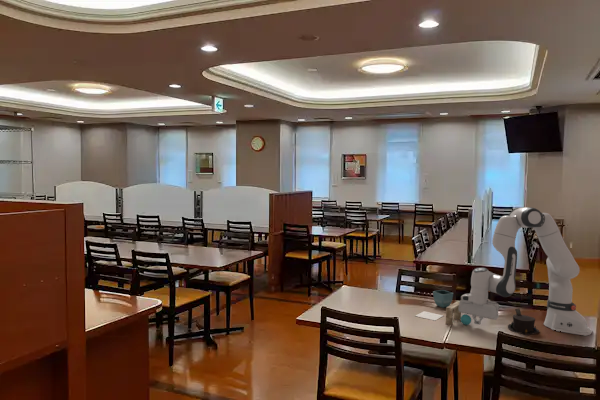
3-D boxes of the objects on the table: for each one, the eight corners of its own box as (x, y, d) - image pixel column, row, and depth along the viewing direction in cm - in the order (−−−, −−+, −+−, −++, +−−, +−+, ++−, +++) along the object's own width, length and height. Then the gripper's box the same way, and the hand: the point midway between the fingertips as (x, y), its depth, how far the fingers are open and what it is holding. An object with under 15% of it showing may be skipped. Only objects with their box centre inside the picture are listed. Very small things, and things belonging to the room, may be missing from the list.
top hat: (543, 331, 244) (544, 311, 243) (532, 337, 233) (534, 317, 233) (514, 323, 254) (515, 305, 254) (503, 330, 244) (504, 310, 243)
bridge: (460, 319, 260) (461, 303, 259) (450, 325, 249) (451, 308, 248) (455, 317, 262) (456, 301, 261) (445, 324, 250) (446, 307, 250)
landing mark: (443, 315, 265) (443, 315, 265) (435, 320, 255) (435, 320, 255) (423, 311, 272) (423, 311, 272) (414, 316, 263) (414, 315, 263)
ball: (463, 312, 254) (461, 321, 254) (459, 314, 249) (458, 324, 250) (473, 314, 251) (471, 324, 251) (470, 317, 246) (468, 327, 247)
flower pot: (431, 305, 286) (432, 291, 285) (442, 303, 290) (443, 289, 289) (442, 309, 278) (443, 294, 277) (453, 307, 282) (453, 293, 281)
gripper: (501, 301, 241) (499, 327, 242) (462, 293, 254) (460, 318, 255) (497, 303, 236) (495, 330, 237) (458, 295, 249) (456, 320, 250)
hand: (477, 323), depth 246 cm, fingers closed
